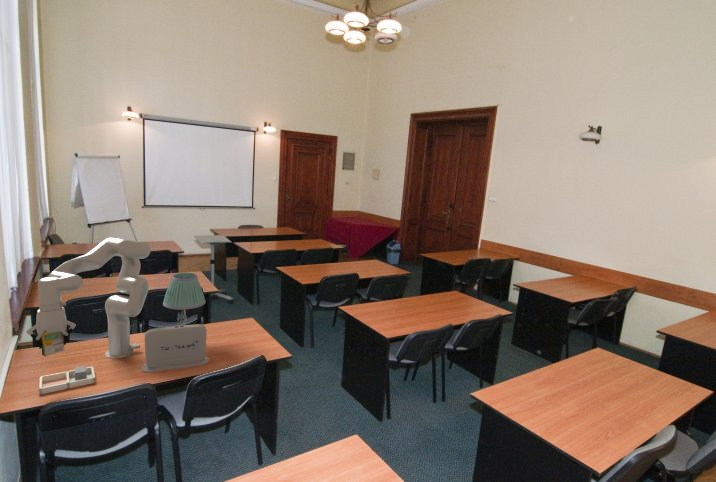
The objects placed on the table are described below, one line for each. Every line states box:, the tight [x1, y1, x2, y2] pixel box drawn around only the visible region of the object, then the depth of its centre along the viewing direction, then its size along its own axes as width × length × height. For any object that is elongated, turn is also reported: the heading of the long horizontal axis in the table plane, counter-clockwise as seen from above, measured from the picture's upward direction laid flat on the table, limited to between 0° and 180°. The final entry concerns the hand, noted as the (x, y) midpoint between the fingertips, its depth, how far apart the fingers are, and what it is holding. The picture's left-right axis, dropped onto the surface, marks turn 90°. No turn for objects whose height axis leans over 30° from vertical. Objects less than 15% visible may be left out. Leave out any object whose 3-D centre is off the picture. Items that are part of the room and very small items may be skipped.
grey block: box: [74, 365, 87, 381], centre depth 176 cm, size 4×6×5 cm, turn 37°
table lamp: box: [162, 272, 207, 325], centre depth 217 cm, size 22×22×40 cm
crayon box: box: [41, 330, 65, 357], centre depth 168 cm, size 7×3×12 cm, turn 149°
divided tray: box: [38, 365, 96, 395], centre depth 174 cm, size 19×12×3 cm, turn 127°
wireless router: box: [140, 323, 210, 373], centre depth 197 cm, size 31×10×20 cm, turn 117°
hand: (52, 345), depth 168 cm, fingers closed on crayon box, 7 cm apart
